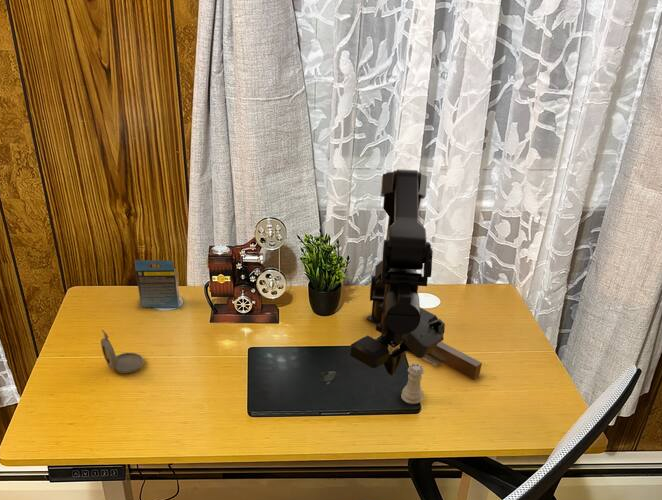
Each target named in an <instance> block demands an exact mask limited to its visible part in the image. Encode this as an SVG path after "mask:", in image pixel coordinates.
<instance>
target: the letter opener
mask: <svg viewBox="0 0 662 500" xmlns="http://www.w3.org/2000/svg"><path fill="white" fill-rule="evenodd" d="M406 352H408V353H409V354H411V355H414V353H413V352H412V351H411V350H410V349H409V350H407V351H406ZM414 356H415V355H414ZM421 360H424V361H425V362H427V363H429V364H431V365H433V366H434V367H438V366H440V365H441V362H439V361H438V360H436V359H434V358H432V357H430V356H428V355H426V356H424V357H423V358H421Z"/></svg>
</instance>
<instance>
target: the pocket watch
mask: <svg viewBox="0 0 662 500" xmlns="http://www.w3.org/2000/svg"><path fill="white" fill-rule="evenodd" d="M101 331H102V333H103V337H102V338H101V340H100V347H101V351H102V354H103V357H104V360H105V362H106V364H107V367H108V368H109V369H110V370H114V371H115V372H118V373H120V374H121V373H122V374H130V373H134V372H137V371H138V370H140V369H141V368H142V367H143V365H144V358H143V356H141V355H140V354H138V353H135V352H124V353H120V354H118V355H116V352H115V350H114V347H113V345H112V343H111V341H110V340H109V335H108V333H106V332H105V331H104V329H103V328H102V329H101Z"/></svg>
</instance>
